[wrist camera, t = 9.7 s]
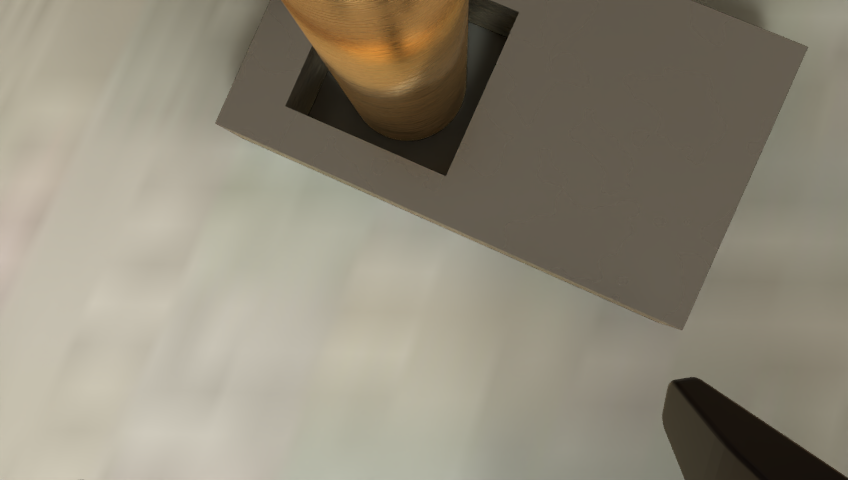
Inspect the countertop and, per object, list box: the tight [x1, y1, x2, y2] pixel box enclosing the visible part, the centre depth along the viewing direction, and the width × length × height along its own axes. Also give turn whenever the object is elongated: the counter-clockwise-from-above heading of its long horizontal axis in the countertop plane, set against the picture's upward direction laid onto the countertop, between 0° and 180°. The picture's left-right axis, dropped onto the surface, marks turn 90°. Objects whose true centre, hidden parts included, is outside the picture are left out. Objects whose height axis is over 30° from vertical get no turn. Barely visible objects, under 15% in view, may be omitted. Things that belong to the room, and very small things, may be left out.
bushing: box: [281, 0, 469, 141], centre depth 17 cm, size 4×4×12 cm
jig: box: [216, 0, 808, 330], centre depth 21 cm, size 17×10×2 cm, turn 66°
